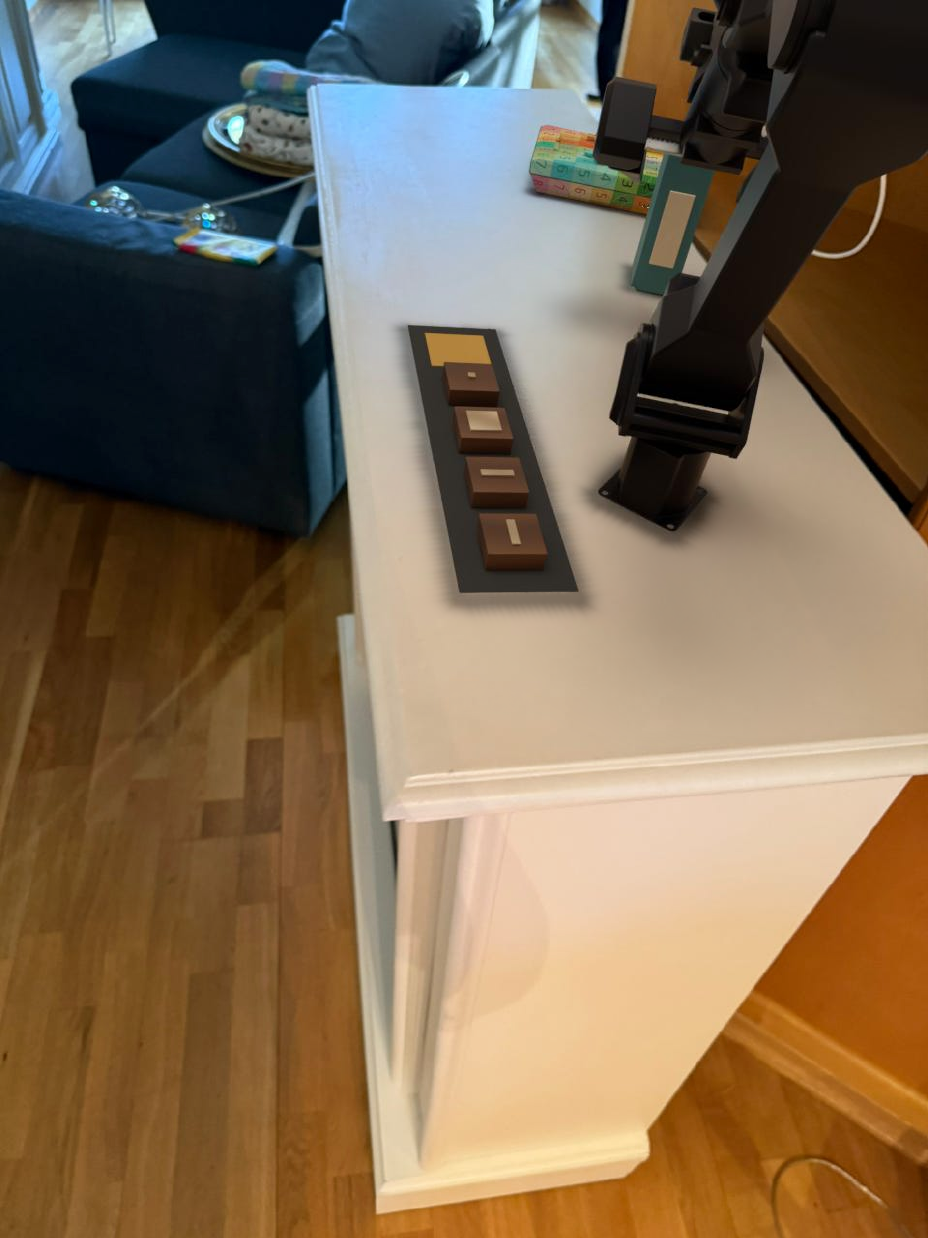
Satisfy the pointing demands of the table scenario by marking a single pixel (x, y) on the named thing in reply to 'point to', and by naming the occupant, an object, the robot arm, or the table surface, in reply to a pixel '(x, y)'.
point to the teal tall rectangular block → (669, 224)
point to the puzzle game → (587, 172)
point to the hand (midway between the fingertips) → (688, 187)
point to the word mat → (459, 515)
